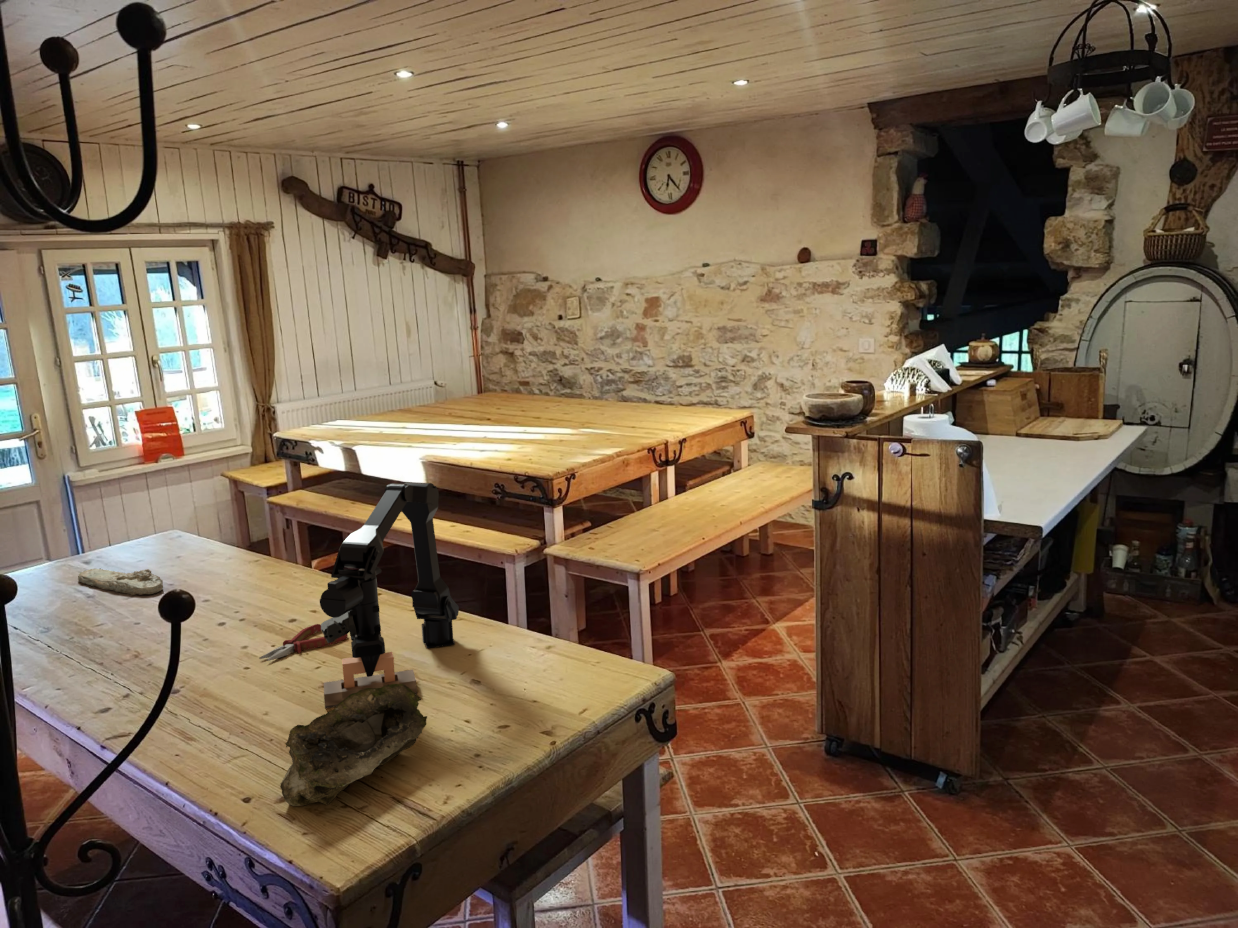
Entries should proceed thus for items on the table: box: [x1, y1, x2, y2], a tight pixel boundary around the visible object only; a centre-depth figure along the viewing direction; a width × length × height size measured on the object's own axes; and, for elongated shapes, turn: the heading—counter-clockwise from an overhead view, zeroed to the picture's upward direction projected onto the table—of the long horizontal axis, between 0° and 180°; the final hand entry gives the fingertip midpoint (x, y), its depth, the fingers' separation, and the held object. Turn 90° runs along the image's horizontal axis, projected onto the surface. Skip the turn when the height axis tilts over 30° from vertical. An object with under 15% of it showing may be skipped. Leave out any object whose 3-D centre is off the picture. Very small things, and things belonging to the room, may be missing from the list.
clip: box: [341, 651, 395, 688], centre depth 184 cm, size 10×3×6 cm, turn 108°
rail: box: [323, 669, 418, 710], centre depth 185 cm, size 18×6×3 cm, turn 108°
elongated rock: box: [77, 567, 164, 596], centre depth 261 cm, size 35×5×10 cm
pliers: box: [258, 623, 349, 662], centre depth 211 cm, size 11×20×3 cm, turn 148°
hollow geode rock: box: [280, 684, 428, 807], centre depth 154 cm, size 28×13×15 cm
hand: (369, 672), depth 184 cm, fingers closed on clip, 3 cm apart
